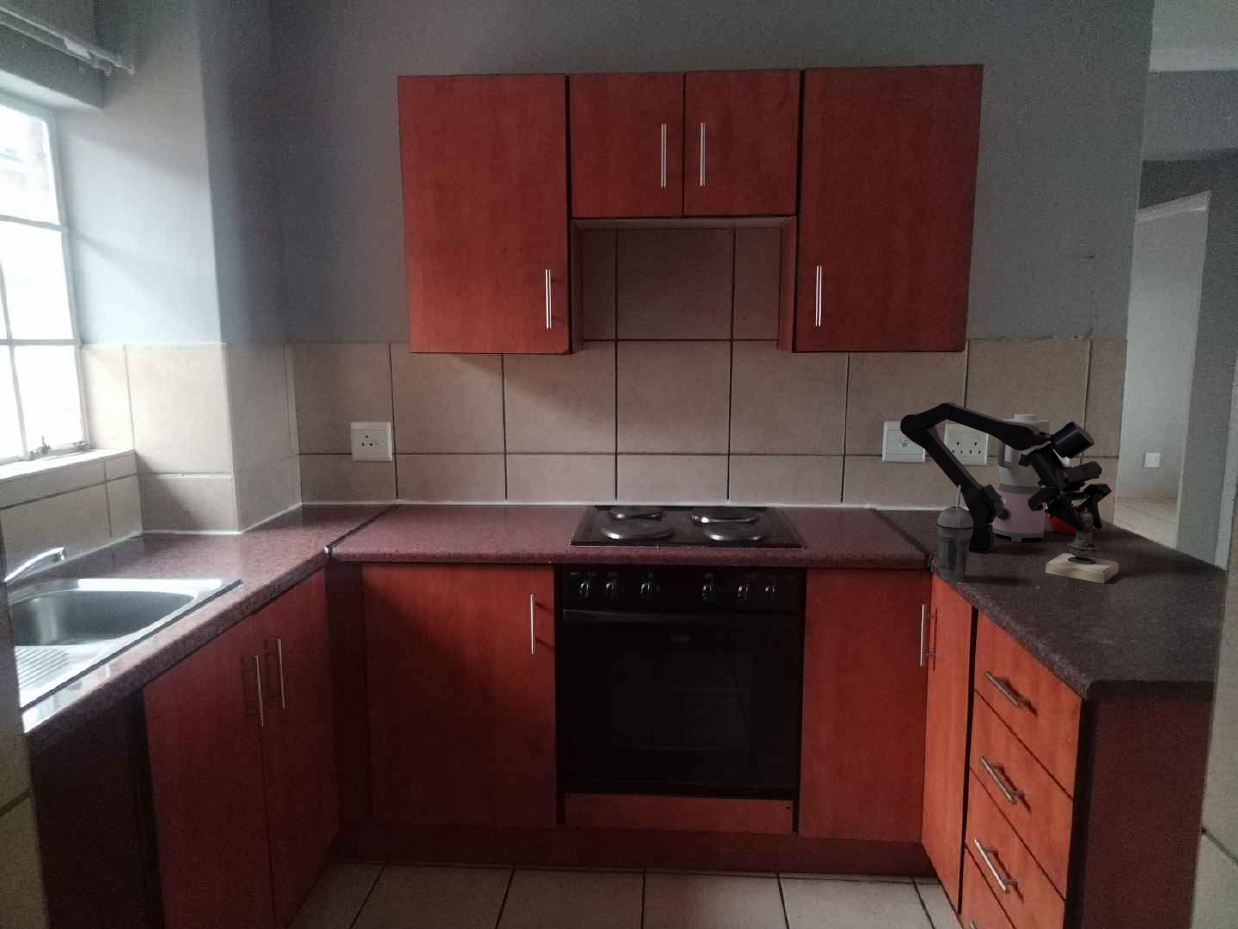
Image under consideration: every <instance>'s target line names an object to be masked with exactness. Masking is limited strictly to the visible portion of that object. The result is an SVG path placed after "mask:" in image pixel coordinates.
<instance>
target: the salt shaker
mask: <svg viewBox="0 0 1238 929" xmlns="http://www.w3.org/2000/svg"><path fill="white" fill-rule="evenodd" d="M1084 510H1085V511H1083V512H1080V513H1079V514H1078V517H1079V519H1080V521H1081V523H1082V525H1083V527H1084V530H1082V531H1078V530H1077V529H1076V535H1075V537H1074V539H1073V541H1072V542H1071V541H1070V542H1067V546H1068V550H1069V554H1072V555H1074V556H1076V557H1070V558H1068V561H1070V562H1072V563H1076V564H1083V565H1093V564H1096V562H1095V561H1094V560H1092V559H1090V557H1091V558H1094V556H1096V554H1097V551H1098V549H1100V546H1098V544H1097V545H1096V544H1095V543H1094V542H1093V531H1095V528H1094V527H1093V514H1091V513H1090V512H1088V511H1087V510H1088V509H1087V508H1085V509H1084Z"/></svg>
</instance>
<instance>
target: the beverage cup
mask: <svg viewBox="0 0 1238 929" xmlns="http://www.w3.org/2000/svg"><path fill="white" fill-rule="evenodd" d="M960 491H961V485H959V486H958V488H957V494H956V495H957V496H956V497H957V498H956V506H955V505H953V506H948V507H946V508H944V510H942V511H941V513H940V514H939V515H938V518H937V521H936V526H937V527H936V528H937V534H938V548H939V551H938V552H939V554H938V555H939V572H940V578H941V579H942V580H944V581H945V580H946V581H948V582H949V581H950V582H962V581H964V579H965V573H966V568H967V562H968V557H969V552H970V551H969V545H970V538H971V536H972V533H973V528H974V525H973V519H972V517H971V515H970V513H969V512H968V511H969V510H968V509H965V508H964V507H963V506H960V498H961V492H960Z"/></svg>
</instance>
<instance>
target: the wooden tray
mask: <svg viewBox="0 0 1238 929" xmlns="http://www.w3.org/2000/svg"><path fill="white" fill-rule="evenodd" d="M1070 557H1076V556H1074V555H1072V554H1071V553H1066V552H1065V553H1064V552H1063V553H1060V555H1058V556H1056V557H1054V558H1053V559H1051V560H1049V561H1048V562H1045V572H1044V573H1046V574H1051V575H1055V576H1056V575H1057V576H1062V577H1067V578H1071V579H1077V580H1083V581H1089V582H1094V583H1099V584H1106V582H1108V581H1109V580H1110V579H1111V578H1113V577H1114V576H1116V575H1117V574H1118V573H1119V563H1117V561H1114V560H1113V561H1112V560H1108V559H1102V558H1096V557H1090V559H1092V560H1094V561H1095V562H1096V564H1093V565H1083V564H1076V563H1072V562H1070V561H1068V558H1070Z"/></svg>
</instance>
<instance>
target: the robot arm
mask: <svg viewBox="0 0 1238 929" xmlns="http://www.w3.org/2000/svg"><path fill="white" fill-rule="evenodd" d="M947 420H948V421H950V422H953V423H957V424H959V425H962V426H965V427H967V428H970V429H973V430H976V431H979V432H982V433H985V434H988V435H990V436H992V437H994V438H995V439H997V441H999V440H1000V441H1001V442H1002V443H1004V444H1006V445H1008V446H1010V447H1011V448H1013V449H1015V450H1019V451H1024V450H1027V449H1030V448H1033V447H1035V446H1040V445H1043V444H1046V443H1049V444H1047V445H1046V446H1044V447H1042V448H1040V449H1039V448H1036V449H1034V450H1033V451H1031V452H1030V453H1028V454H1026V455H1024V454H1021V457H1020V459H1019V462H1018V465H1021V466H1024V467H1028V466H1029V465H1031V466H1032V468H1033V469H1034V471H1035V472H1036V474H1037V475H1038V477H1039V478H1040V481H1038V482H1037V483H1038V484H1039V486H1042V488H1040V489H1039V490H1038V491H1036V492H1035V493H1034V494H1033V495H1032V496H1031V497H1030V498H1029V499H1028V506H1029V508H1030V509H1031V511H1032V512H1033V511H1041V510H1042V509H1043V505H1042V503H1046V510H1045V511H1044V512H1045V514H1050V515H1052V516H1054V517H1056V518H1058V519H1060V520H1062V521H1063V522H1065V523H1067V524H1068V525H1070V526H1072V527H1073V528H1075V529H1077V530H1078V531H1082V530H1084V527H1083V525H1082V523H1081V521H1080V519H1079V517H1078V516H1077V514H1076V512H1075V511H1074V509H1073V507H1072V504H1073V502H1074V503H1075V504H1076V505H1078V506H1077V507H1076V508H1075V510H1076V511H1077V512H1078V513H1080V512H1083V511H1085V510H1084V509H1085V508H1087V509H1088V510H1087V511H1088V512H1090V513H1091V514H1093V525H1092V527H1093V528H1094V529H1096V530H1101V529H1102V528H1103V523H1102V520H1101V514H1100V511H1099V502H1101V501H1102V500H1103V499H1104V498H1106V497H1107V496H1109V494H1112V489H1111V487H1110V486H1109V485H1108V484H1107V483H1103V482H1099V483H1098V482H1097V483H1089V484H1088V485H1087V483H1086V482H1088V481H1091V480H1097V479H1100V477H1101V476H1100V475H1102V474H1103V468H1102V467H1101V465H1100V464H1099V463H1098V462H1097V461H1096V460H1093V461H1089V462H1085V463H1083V464H1078V465H1075V466H1066V465H1065V464H1064V463H1063V461H1062V460H1061V458H1062V459H1065V458H1068V459H1069V460H1073V459H1074V458H1076V457H1077V456H1079V455H1080V454H1082V453H1083V452H1084V451H1086V450H1088V449H1090V448H1091V447H1093V446H1094V445H1096V443H1095V440H1094V439H1093V437H1092V436H1091V434H1090V433H1089V432H1088V431H1087V430H1084V429H1083V428H1082V427H1081V426H1080V425H1079V424H1077V423H1076V422H1075V420H1074V421H1073V420H1071V421H1070V422H1068V423H1067V424H1065V426H1063V427H1062V428H1060V429H1058V430H1057V431H1056V432H1055V433H1053V434H1052V433H1050V432H1049V433H1046V432H1042V431H1039V429H1038V428H1037V427H1036V426H1034V425H1031V424H1025V423H1019V422H1011V421H1004V420H1003V419H999V418H995V417H994V416H990V415H988V414H984V413H981V412H979V411H976V410H973V409H970V408H967V407H964V406H961V405H959V404H956V403H955V402H952V401H949V402H941V403H940V404H939V405H936V406H934V407H932V408H930V409H927V410H925V411H923V412H918V413H917V412H916V413H912V414H911V413H910V414H907V415H905V416H903V417H902V419H901V421H900V424H899V425H900V426H899V430H900V432H901V433H902V434H903V435H904V436H905V437H906V438H907V439H908V440H910V441H911V442H912V443H914V444H915V445H917V446H919V447H921V449H923V450H925V452H926V454H928V455H929V456H930V458H931V459H932V460H933V461H934V462H935V463H936V465H937V466H938V467H939V468H940V469H941V471H942V472H943V473H944V475H946V476H947V478H948V479H949V480H950V482H952V484H953V485H954V486H955V487H956V488H957V489H958V486H959V485H961V491H960V494H961V495H962V497H963V502H964V504H965V506H966V508H967V511H968V512H969V513H970V515H971V517H972V519H973V525H974V528H973V533H972V536H971V538H970V545H969V551H968V552H975V553H979V552H981V554H986V553H988V552H991V551H993V550H994V549H995V537H996V535H995V533H994V532H993V525H992V523H993V521H994V519H995V518H996V517H998V516H999V515H1000V514H1001V513H1002V512H1003V508H1004V504H1003V502H1002V500H1001V499H1000V498H1002V496H1001V495H999V494H998V493H997V492H996V491H997V490H995V487H994V486H993V485H992V484H990V483H989V484H987V485H985V486H984V485H983V484H981V483H979V482H978V481H977V479H976V478H975V477H974V476H973V475H972V474H971V473H970V472H969V471H968V470H967V468H966V467H965V466H964V465H963V463H961V461H960V460H959V459H958V458H957V457H956V455H955V454H954V453H953V452H952V451H951V450H950V448H948V446H947V445H946V444H945V443H944V441H943V440H942V439H941V437H940V436H939V432H938V429H937V427H936V426H937V425H939V424H941V423H943V422H945V421H947ZM1060 457H1061V458H1060ZM1086 485H1087V486H1086ZM1084 486H1086V487H1085V488H1083V487H1084ZM1081 488H1083V489H1082V490H1081Z"/></svg>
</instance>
